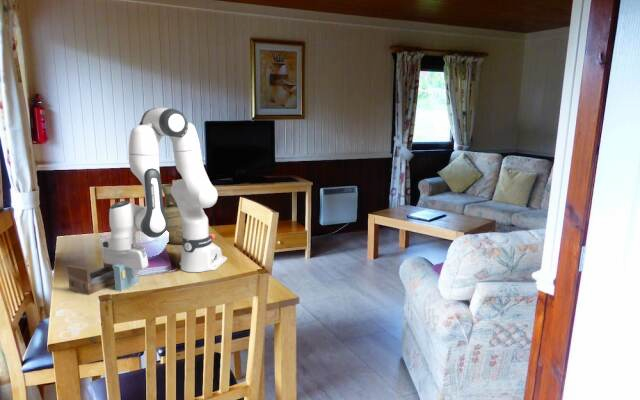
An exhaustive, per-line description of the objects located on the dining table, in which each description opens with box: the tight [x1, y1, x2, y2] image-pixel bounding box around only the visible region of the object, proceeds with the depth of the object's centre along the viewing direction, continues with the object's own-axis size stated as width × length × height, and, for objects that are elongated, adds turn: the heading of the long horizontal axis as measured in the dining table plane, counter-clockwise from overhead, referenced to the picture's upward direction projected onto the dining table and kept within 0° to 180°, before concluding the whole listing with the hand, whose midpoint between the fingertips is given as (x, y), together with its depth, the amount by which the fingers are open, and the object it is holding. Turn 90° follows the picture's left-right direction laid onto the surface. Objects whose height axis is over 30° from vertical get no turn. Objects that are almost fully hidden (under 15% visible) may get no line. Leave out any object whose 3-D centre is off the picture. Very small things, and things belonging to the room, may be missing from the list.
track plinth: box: [66, 261, 115, 296], centre depth 183 cm, size 18×10×10 cm, turn 158°
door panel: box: [113, 264, 139, 291], centre depth 181 cm, size 9×4×10 cm, turn 158°
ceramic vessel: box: [161, 183, 183, 245], centre depth 239 cm, size 19×21×30 cm
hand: (126, 276), depth 181 cm, fingers open, 7 cm apart
